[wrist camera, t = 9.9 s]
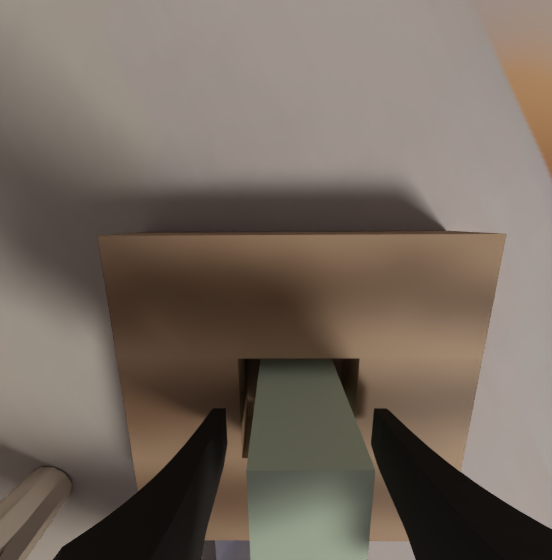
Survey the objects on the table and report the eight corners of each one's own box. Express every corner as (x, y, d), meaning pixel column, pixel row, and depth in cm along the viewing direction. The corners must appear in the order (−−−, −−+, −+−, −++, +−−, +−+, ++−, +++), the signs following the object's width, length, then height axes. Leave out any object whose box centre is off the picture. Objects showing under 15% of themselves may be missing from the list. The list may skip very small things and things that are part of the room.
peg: (325, 403, 17) (366, 563, 9) (263, 403, 17) (250, 564, 9) (326, 346, 16) (375, 469, 8) (261, 347, 16) (246, 470, 8)
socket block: (412, 476, 19) (447, 541, 15) (172, 475, 19) (145, 540, 15) (447, 230, 15) (506, 234, 11) (143, 232, 15) (97, 235, 11)
